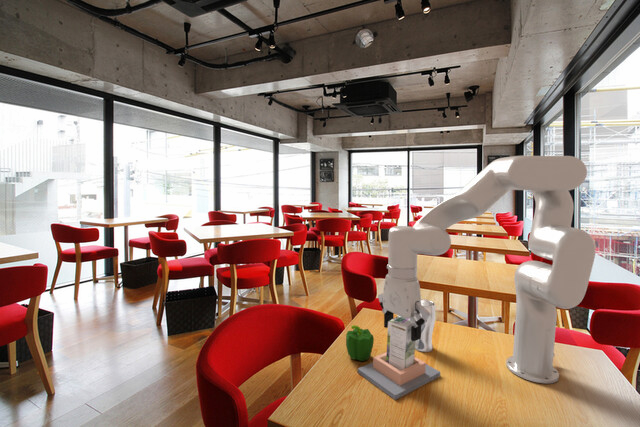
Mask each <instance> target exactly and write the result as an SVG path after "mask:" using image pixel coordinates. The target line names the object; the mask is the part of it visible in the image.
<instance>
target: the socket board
mask: <svg viewBox="0 0 640 427" xmlns="http://www.w3.org/2000/svg"><path fill="white" fill-rule="evenodd" d="M386 356H387V351H386V352H383V353H381V354H378V355H376V356H373V358H372V360H373V361H372V362H370V363H367V364H365V365H363V366H360V367H358V368H357V373H358V374H359V375H360V376H362V377H363V378H365V380H367V381H368V382H370V383H371V384H373V385H374V386H375V387H377V389H379V390H381V391H382V392H383V393H385V394H386V395H388V396H389V397H390V398H391V399H393V400H395V401H396V400H398V399H400V398H403V396H406V395H408V394H409V393H411V392H412V391H414V390H417V389H418V388H420V387H422V386H424V385H426V384H428V383H430V382H432V381H434V380H436V379H437V378H439V377H441V371H439V370H438V369H436V368H434V367H433V366H430V365H429V364H427V363H426V362H425V361H423V360H422V359H420V358H418V357H416V356H414V365H412V366H410V367H407V368H405V369H403V370H401V371H400V370H398V369H396V368H395V367H393V366H392V365H390V364H388V363H387V362H386Z"/></svg>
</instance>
